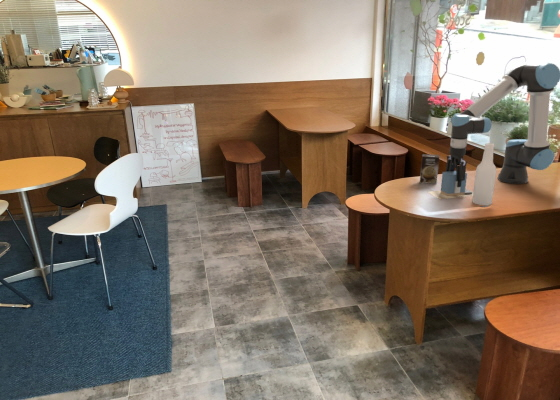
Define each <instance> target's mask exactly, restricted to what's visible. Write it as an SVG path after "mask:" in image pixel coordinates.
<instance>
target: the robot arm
mask: <svg viewBox="0 0 560 400" xmlns="http://www.w3.org/2000/svg"><path fill="white" fill-rule="evenodd" d="M559 82H560V68H559V67H558V66H557V64H555V63H551V62H546V61H545V62H544V61H542V62H541V61H540V62H537V61H526V62H523V63H520V64H519V65H517V66H515V67H513V68H512V69H511V70H509V71H507V72H506V73H505V74H504V75H503V76H502V78H501V80H499V82H497V83H496V84H495V85H494V86H493V87H491V88H490V89H489V90H488V91H487V92H485V93H484V94H483V95H481V96H480V97H479V98H478V99H477V100H475V102H473V103H472V104H471V105H469V106H468V107H467V108H466V109H465V110H464V111H462V112H459V113H458V112H457V113H456V112H455V113H454V114H453V115H452V117H451V119H450V122H451V133H450V134H451V135H450V144H449V145H450V147H449V152H448V153H449V154H450V155H447V156H446V166H445V172H449V171H456V175H457V180H456V182H455V191H454V193H460V188H461V182H462V181H464V180H465V173H467V172H466V169H467V164H468V162H467V161H466V160H464V156H465V155H466V153H467V152H466V151H467V150H466V149H467V145H468V144H467V143H468V135H473V134H474V135H475V134H477V135H478V134H486V133H489V132H490V131H491V130H492V120H491V119H490V118H488V117H481V116H483V115H484V114H485V113H486V112H488V111H489V110H490V109H491V108H492V107H493V106H495V105H496V104H498V103H499V102H500V101H501V100H503V99H504V98H505V97H506V96H508V95H509V93H512V91H516V90H518V89H519V88H521V87H524V86H526V92H527V93H528V94H529V108H528V109H529V110H528V125H527V127H528V128H527V139H522V138H521V139H520V138H519V139H517V138H516V139H509V140H508V141H506V145H505V149H504V158H503V163H502V164H503V165H502V167H501V169H500V171H499V173H498V177H497V179H498V181H500V182H503V183H505V184H506V183H507V184H514V185H515V184H516V185H520V184H522V185H524V184H526V183H528V181H529V176H528V170H527V168H530V169H532V170H536V171H544V170H546V169H548V168H549V167H550V165H552V163H553V162H554V159H555V152H554V151H553V150H552V149H550V148H551V146H550V145H551V143H550V142H549V141H548V139H547V138H548V126H549V111H550V96H551V93H552V92H553V91H554V90H555V87H556V86H557V85H558V83H559Z"/></svg>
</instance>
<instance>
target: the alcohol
mask: <svg viewBox="0 0 560 400" xmlns="http://www.w3.org/2000/svg"><path fill="white" fill-rule="evenodd" d="M494 148H495V143H493V142H492V143H491V142H486V143H485V144H484V150H483V155H482V160H481V162H480V163H479V164H477V166H476V169H475V174H474V175H475V176H474V183H473V184H474V185H473V191H472V192H473V196H472V199H471V200H472V201H471V202H472V203H473V204H475V205H479V206H478V207H479V208H489V207H490V206H491V205H492V203H493V197H494V190H495V183H496V177H497V167H496V165H495V164H494Z"/></svg>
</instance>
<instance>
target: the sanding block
mask: <svg viewBox="0 0 560 400" xmlns="http://www.w3.org/2000/svg"><path fill="white" fill-rule="evenodd" d="M441 175H442V176H441V185H440V190H441V193H442V194H444V195H446V196H453V195H463V194H465V188H466V187H467V186H466V185H467V179H468V173H467V172H465V180H464V181H462V182H461V188H460V193H454V191H455V182H456V180H457V175H456V170H454V171H449V172H446V171H442V174H441Z"/></svg>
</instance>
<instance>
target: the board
mask: <svg viewBox="0 0 560 400" xmlns="http://www.w3.org/2000/svg"><path fill="white" fill-rule="evenodd" d="M465 189H467V190H469V189H468V188H466V187H465ZM469 191H471V192H472V194H467V195H465V194H463V195H453V196H446V195H444V194H442V193H441V189H440V190H431V191H427V193H428V194H430V195H431V196H433V197H435V198H437V199H438V200H444V199H446V200H447V199H453V198H454V199H456V198H466V197H473V191H472V190H469Z"/></svg>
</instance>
